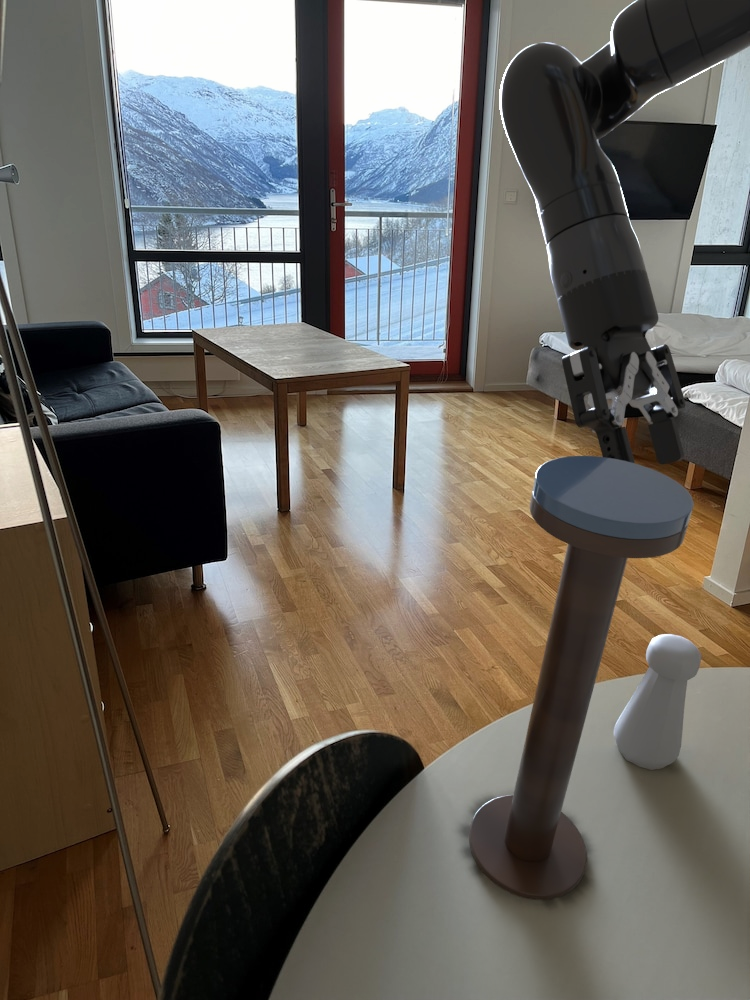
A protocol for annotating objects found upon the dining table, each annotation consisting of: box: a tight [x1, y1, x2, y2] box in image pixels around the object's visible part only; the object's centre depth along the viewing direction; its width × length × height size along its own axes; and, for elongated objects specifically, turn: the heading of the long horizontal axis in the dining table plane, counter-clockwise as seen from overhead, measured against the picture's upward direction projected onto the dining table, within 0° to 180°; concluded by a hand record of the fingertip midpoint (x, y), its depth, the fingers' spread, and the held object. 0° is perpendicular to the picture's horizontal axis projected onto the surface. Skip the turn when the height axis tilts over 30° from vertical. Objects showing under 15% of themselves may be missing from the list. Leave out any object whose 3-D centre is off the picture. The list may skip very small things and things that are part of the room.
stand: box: [468, 490, 690, 901], centre depth 51 cm, size 9×9×31 cm
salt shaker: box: [613, 633, 702, 771], centre depth 65 cm, size 6×6×13 cm
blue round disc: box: [532, 455, 694, 539], centre depth 43 cm, size 9×9×1 cm
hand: (648, 468), depth 62 cm, fingers open, 8 cm apart
